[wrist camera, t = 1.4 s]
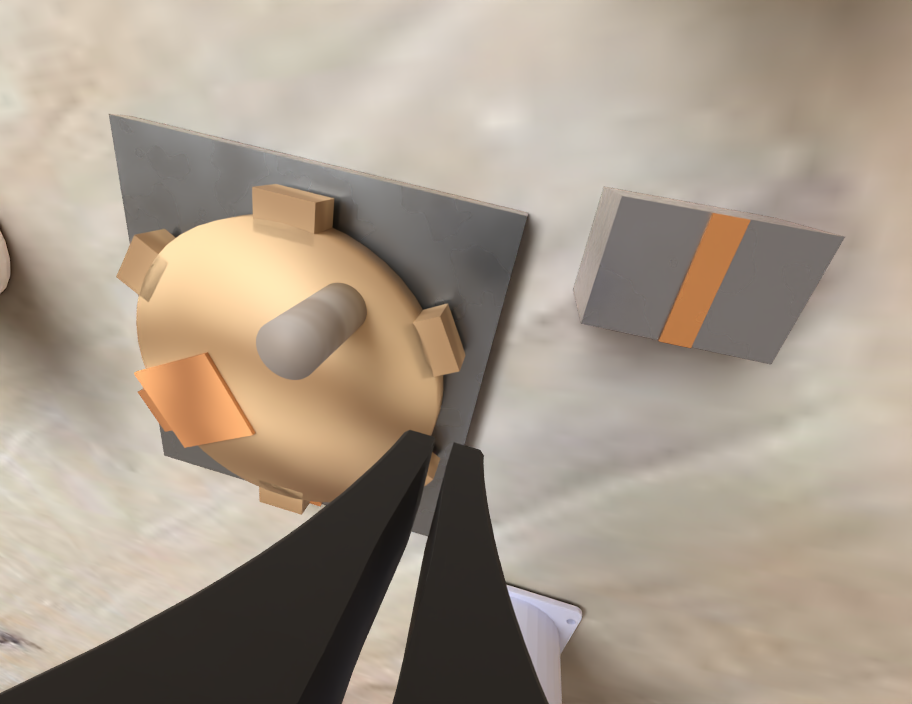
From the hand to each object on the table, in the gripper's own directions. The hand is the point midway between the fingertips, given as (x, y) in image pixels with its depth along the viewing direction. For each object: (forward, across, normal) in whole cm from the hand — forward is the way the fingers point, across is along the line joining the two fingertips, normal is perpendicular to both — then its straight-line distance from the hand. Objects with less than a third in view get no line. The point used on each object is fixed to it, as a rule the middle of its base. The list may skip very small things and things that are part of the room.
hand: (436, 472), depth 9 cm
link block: (+10, -6, -4) cm, 13 cm away
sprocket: (+9, +8, +4) cm, 12 cm away
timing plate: (+10, +8, +4) cm, 13 cm away
